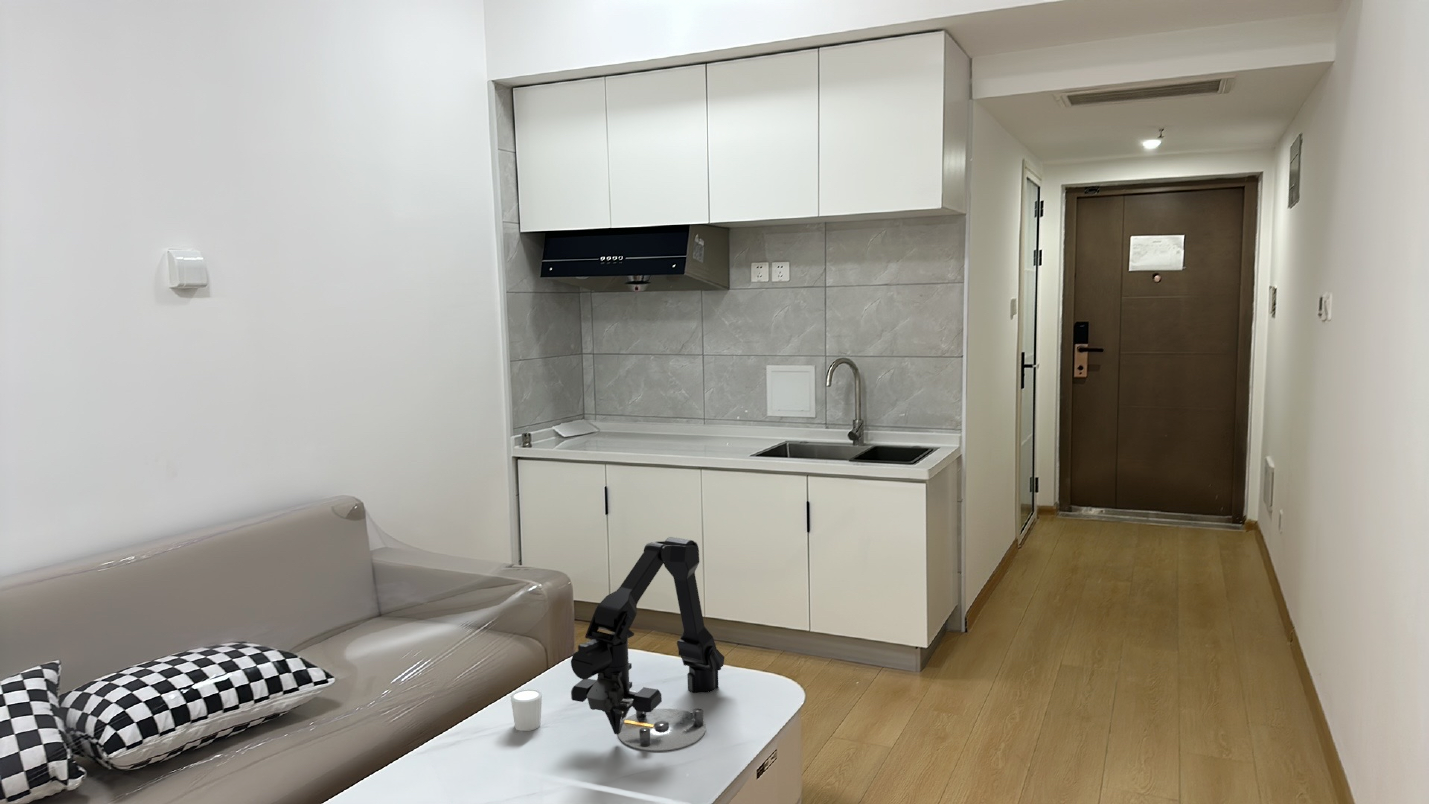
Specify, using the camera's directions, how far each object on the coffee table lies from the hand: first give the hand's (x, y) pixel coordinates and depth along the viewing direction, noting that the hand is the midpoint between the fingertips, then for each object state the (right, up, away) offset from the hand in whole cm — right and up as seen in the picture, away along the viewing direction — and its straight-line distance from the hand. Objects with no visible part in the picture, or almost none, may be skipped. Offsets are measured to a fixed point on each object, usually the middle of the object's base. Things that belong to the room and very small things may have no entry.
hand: (617, 733), depth 198 cm
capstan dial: (+9, -1, +5) cm, 10 cm away
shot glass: (-21, -2, +11) cm, 24 cm away
